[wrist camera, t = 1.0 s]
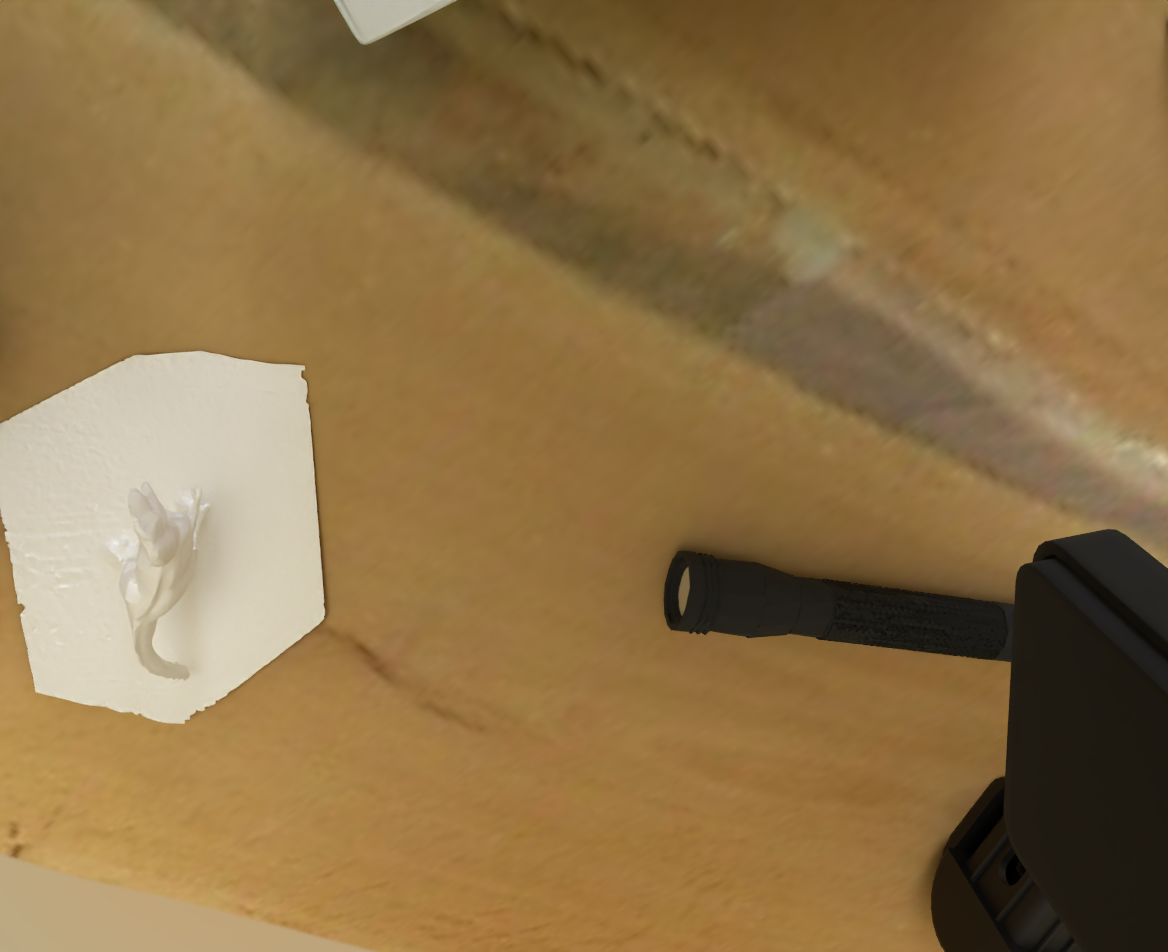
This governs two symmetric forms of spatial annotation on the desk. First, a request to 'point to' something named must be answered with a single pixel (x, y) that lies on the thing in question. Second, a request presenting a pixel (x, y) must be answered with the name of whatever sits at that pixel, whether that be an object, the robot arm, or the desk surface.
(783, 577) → the flashlight
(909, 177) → the desk surface
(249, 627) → the dinosaur figurine
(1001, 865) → the end cap
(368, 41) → the skincare box
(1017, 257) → the desk surface
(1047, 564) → the robot arm
